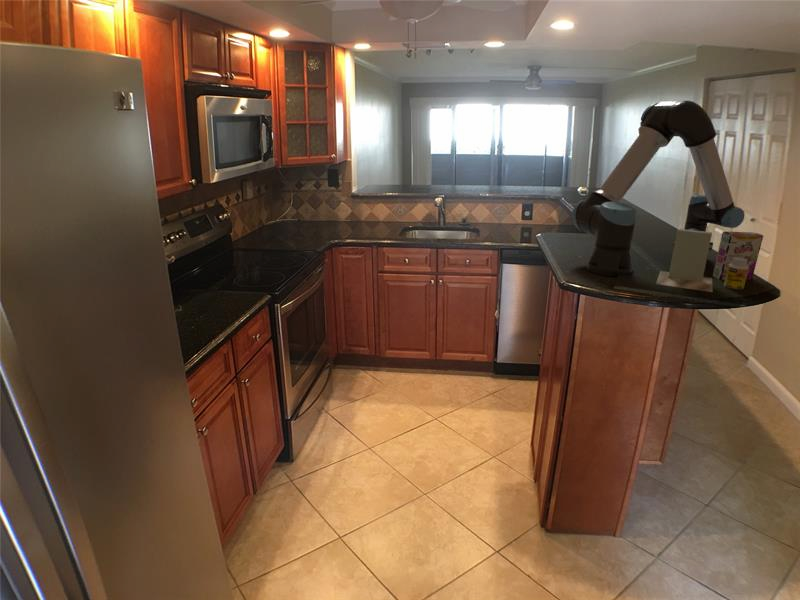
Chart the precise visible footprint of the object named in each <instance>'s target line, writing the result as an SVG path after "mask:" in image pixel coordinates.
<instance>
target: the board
mask: <svg viewBox="0 0 800 600" xmlns="http://www.w3.org/2000/svg"><path fill="white" fill-rule="evenodd" d="M668 276H669V271H663V270H660V271H659V274H658V277H657V280H656V282H655V285H660V286H667V287H674V288H680V289H686V290H695V291H702V292H709V293H713V292H714V291H713V277H708V276H703V280H702V282H697V281H690V280H683V279H676V278H668Z"/></svg>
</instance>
